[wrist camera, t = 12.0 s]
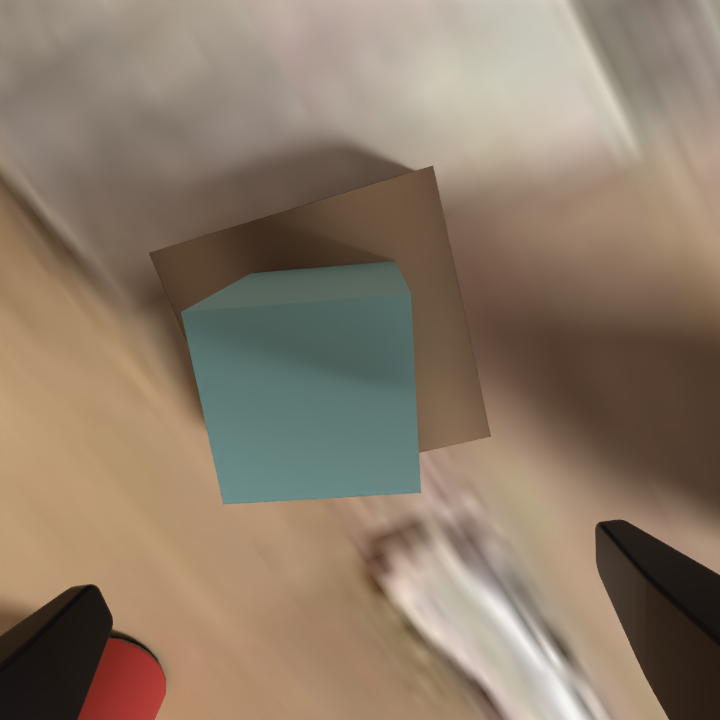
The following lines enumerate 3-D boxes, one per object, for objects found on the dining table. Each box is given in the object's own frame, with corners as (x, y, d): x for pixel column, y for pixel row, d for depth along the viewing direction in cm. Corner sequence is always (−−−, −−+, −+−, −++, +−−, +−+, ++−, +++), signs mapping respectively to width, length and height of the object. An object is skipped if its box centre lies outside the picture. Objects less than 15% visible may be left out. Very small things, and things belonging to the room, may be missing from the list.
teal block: (395, 260, 15) (410, 293, 9) (403, 395, 17) (420, 493, 11) (250, 273, 15) (180, 312, 10) (272, 404, 17) (223, 504, 11)
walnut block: (421, 174, 18) (432, 165, 14) (470, 394, 21) (490, 436, 17) (194, 243, 19) (148, 252, 15) (271, 442, 22) (250, 490, 18)
